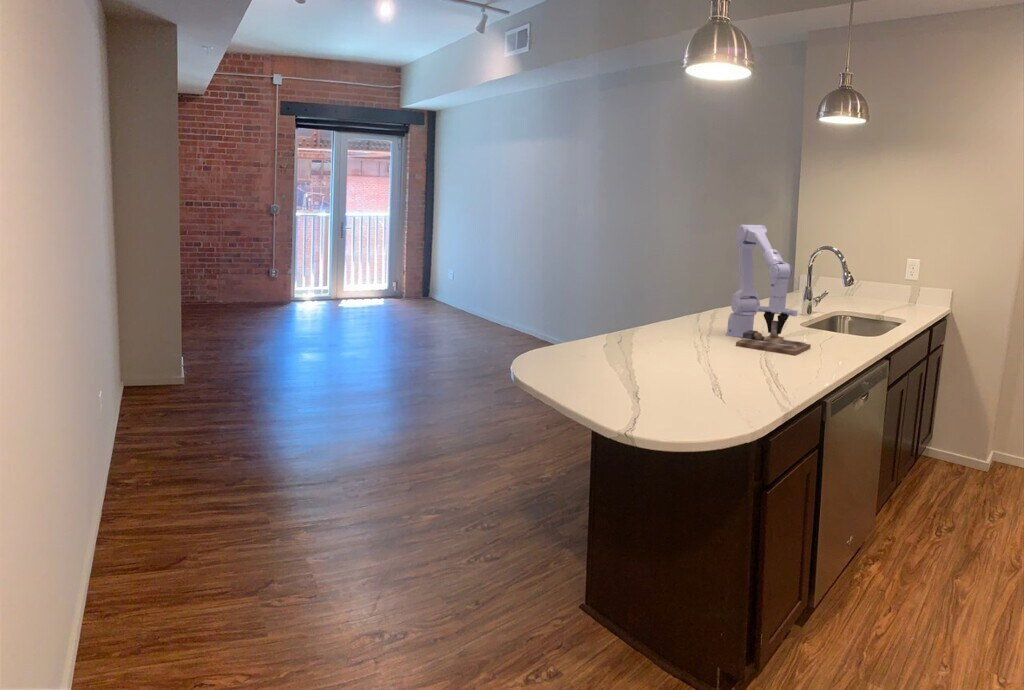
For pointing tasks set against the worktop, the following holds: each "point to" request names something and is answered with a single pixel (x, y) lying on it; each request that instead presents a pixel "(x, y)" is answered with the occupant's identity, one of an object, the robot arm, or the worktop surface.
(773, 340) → the press ram
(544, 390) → the worktop surface
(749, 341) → the board
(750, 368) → the worktop surface
